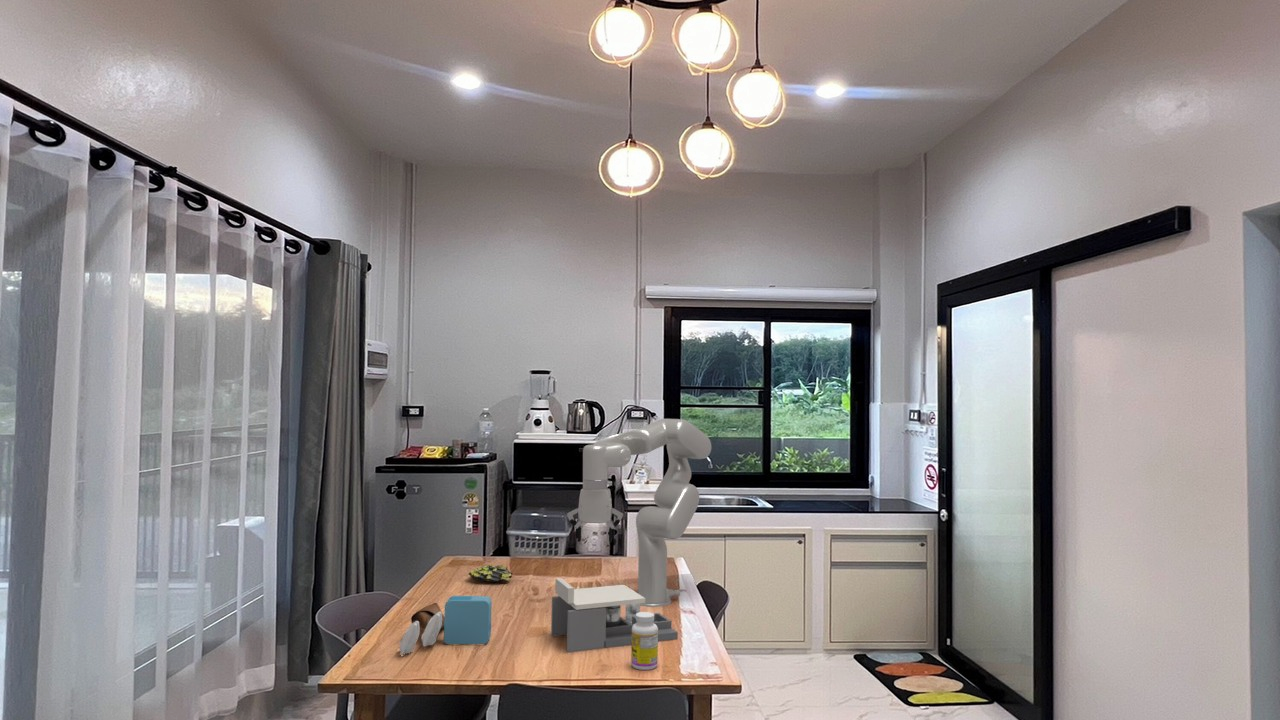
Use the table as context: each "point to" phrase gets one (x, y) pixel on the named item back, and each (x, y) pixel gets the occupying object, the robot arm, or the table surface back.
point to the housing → (598, 627)
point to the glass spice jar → (613, 616)
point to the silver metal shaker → (631, 610)
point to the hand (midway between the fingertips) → (595, 541)
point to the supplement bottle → (644, 642)
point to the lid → (596, 595)
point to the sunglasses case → (427, 616)
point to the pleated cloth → (491, 573)
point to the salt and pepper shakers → (427, 636)
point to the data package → (467, 620)
